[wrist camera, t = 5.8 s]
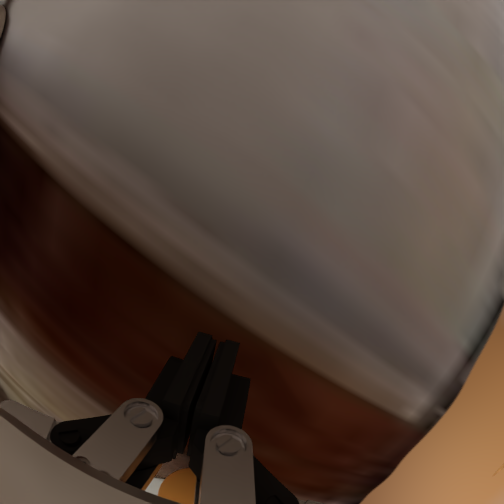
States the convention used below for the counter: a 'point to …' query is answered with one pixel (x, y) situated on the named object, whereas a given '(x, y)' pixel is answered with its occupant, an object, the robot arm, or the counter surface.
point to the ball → (179, 486)
